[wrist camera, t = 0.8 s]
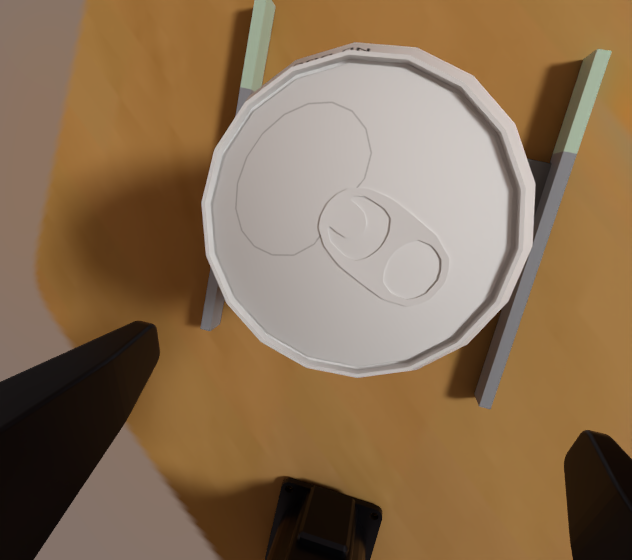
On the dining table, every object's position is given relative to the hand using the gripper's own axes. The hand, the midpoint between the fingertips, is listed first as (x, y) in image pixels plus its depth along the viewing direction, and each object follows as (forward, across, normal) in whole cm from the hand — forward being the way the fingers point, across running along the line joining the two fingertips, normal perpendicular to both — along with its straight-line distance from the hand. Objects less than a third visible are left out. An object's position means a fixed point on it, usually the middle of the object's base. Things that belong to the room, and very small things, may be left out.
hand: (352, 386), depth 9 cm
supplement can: (+16, +1, +3) cm, 16 cm away
